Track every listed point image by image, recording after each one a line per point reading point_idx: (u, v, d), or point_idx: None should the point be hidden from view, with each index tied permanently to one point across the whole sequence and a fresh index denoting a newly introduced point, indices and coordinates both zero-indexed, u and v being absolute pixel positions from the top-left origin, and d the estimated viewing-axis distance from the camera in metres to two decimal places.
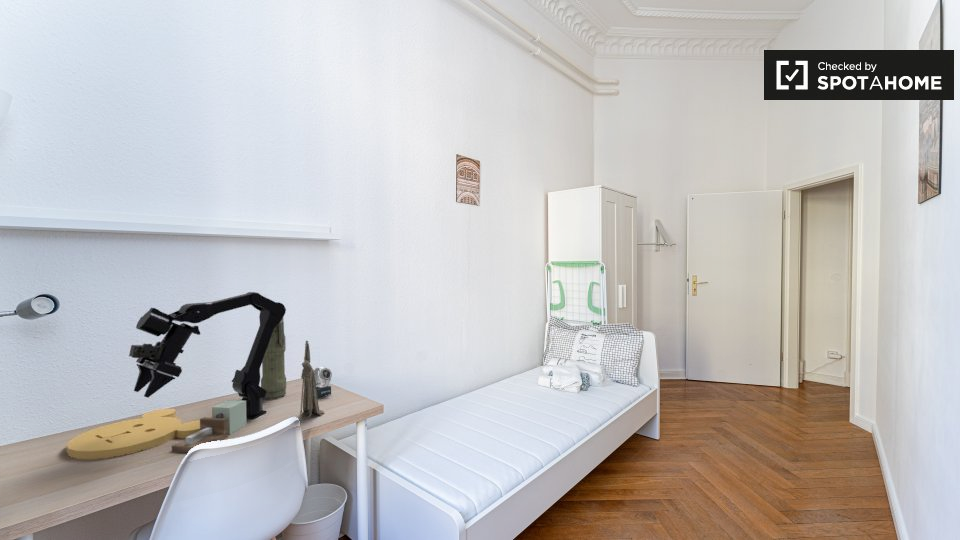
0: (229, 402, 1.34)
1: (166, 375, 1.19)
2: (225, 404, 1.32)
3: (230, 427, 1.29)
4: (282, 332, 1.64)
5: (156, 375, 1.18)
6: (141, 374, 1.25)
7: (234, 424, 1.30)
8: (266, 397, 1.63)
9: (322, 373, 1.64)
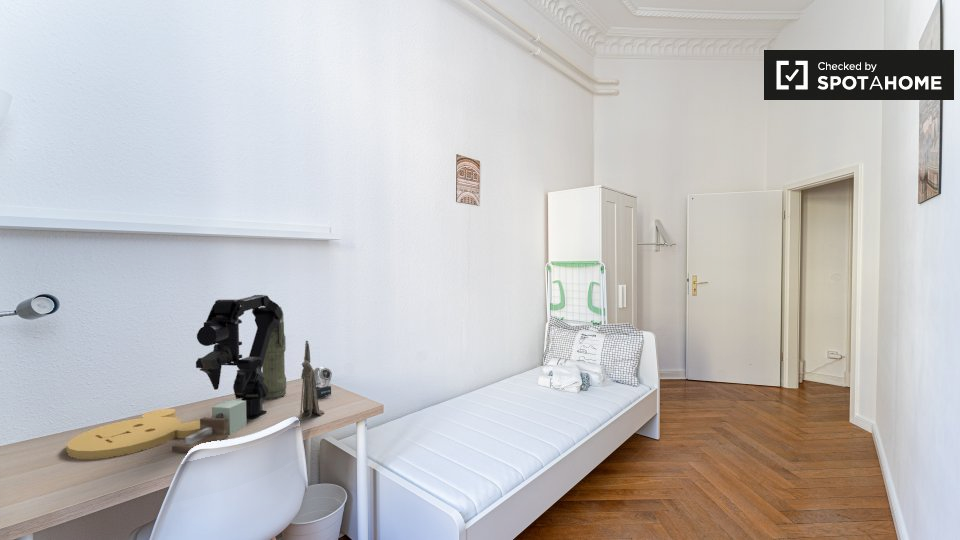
0: (229, 402, 1.34)
1: (252, 368, 1.31)
2: (225, 404, 1.32)
3: (230, 427, 1.29)
4: (282, 332, 1.64)
5: (244, 372, 1.30)
6: (212, 375, 1.32)
7: (234, 424, 1.30)
8: (266, 397, 1.63)
9: (322, 373, 1.64)
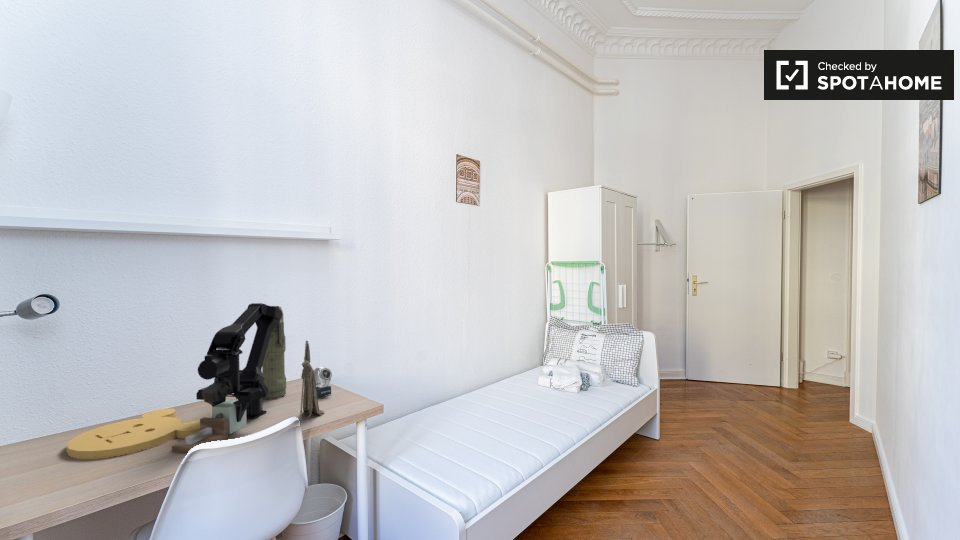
0: (229, 402, 1.34)
1: None
2: (225, 404, 1.32)
3: (230, 427, 1.29)
4: (282, 332, 1.64)
5: (241, 404, 1.30)
6: None
7: (234, 424, 1.30)
8: (266, 397, 1.63)
9: (322, 373, 1.64)
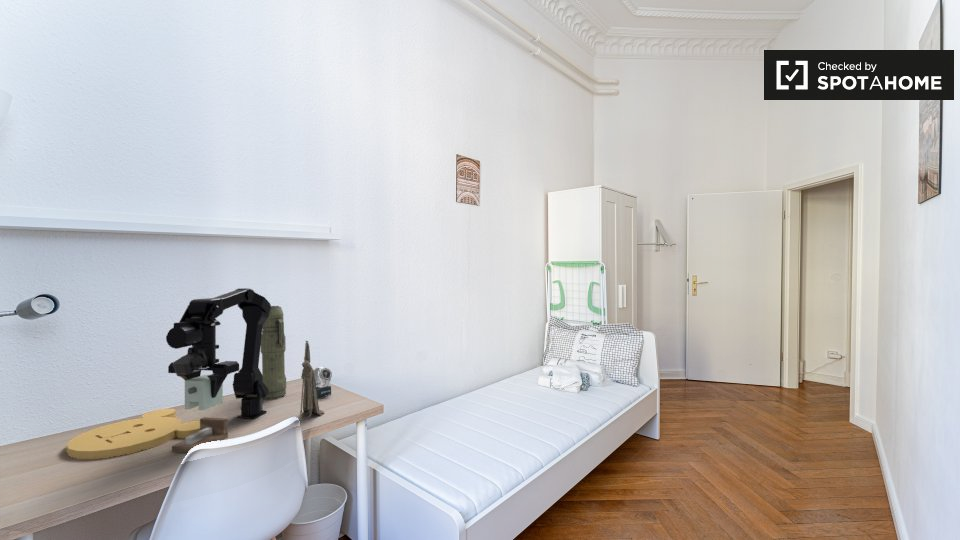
0: (204, 376, 1.24)
1: None
2: (199, 378, 1.22)
3: (203, 402, 1.19)
4: (282, 332, 1.64)
5: (216, 377, 1.21)
6: None
7: (208, 399, 1.21)
8: (266, 397, 1.63)
9: (322, 373, 1.64)
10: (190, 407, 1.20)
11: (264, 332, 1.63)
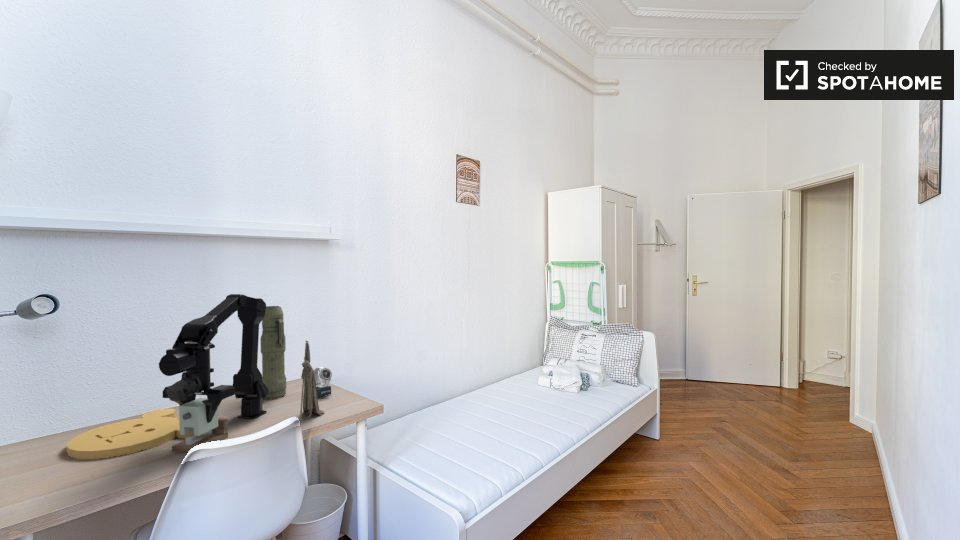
0: (199, 400, 1.22)
1: None
2: (194, 403, 1.21)
3: (198, 428, 1.17)
4: (282, 332, 1.64)
5: (211, 402, 1.19)
6: None
7: (203, 424, 1.19)
8: (266, 397, 1.63)
9: (322, 373, 1.64)
10: (185, 432, 1.18)
11: (264, 332, 1.63)
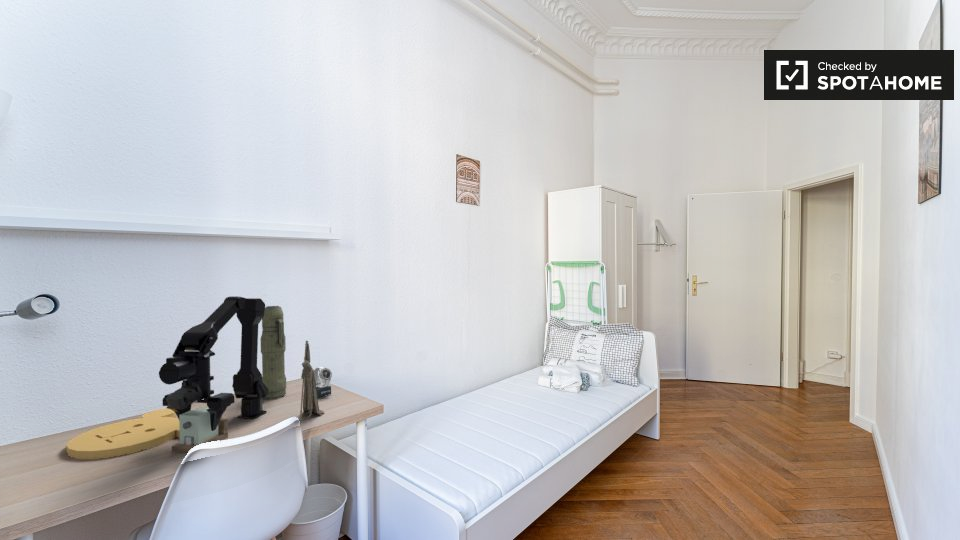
0: (199, 409, 1.22)
1: (224, 406, 1.20)
2: (194, 412, 1.21)
3: (199, 437, 1.17)
4: (282, 332, 1.64)
5: (215, 411, 1.19)
6: (180, 413, 1.21)
7: (204, 433, 1.19)
8: (266, 397, 1.63)
9: (322, 373, 1.64)
10: (185, 442, 1.18)
11: (264, 332, 1.63)
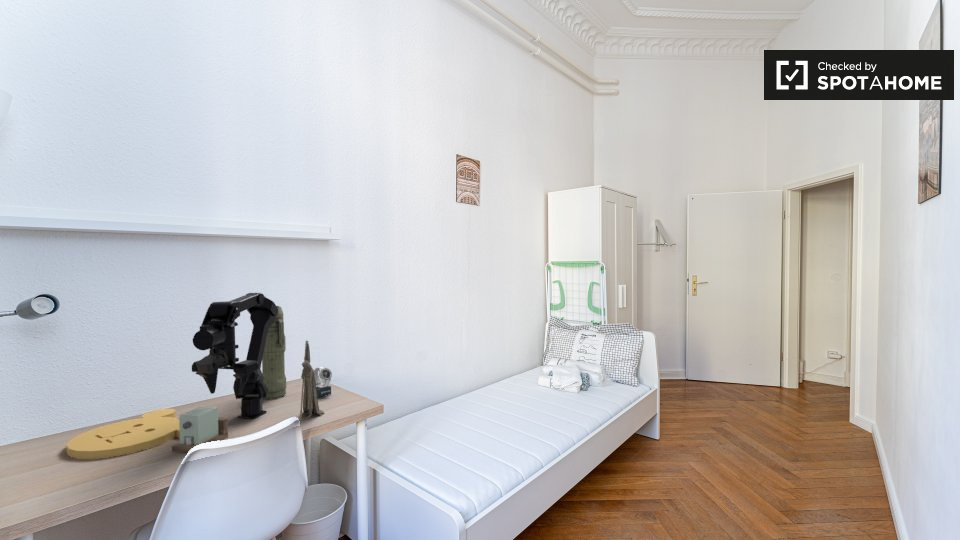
0: (199, 409, 1.22)
1: (249, 372, 1.29)
2: (194, 412, 1.21)
3: (199, 437, 1.17)
4: (282, 332, 1.64)
5: (241, 376, 1.27)
6: (208, 379, 1.30)
7: (204, 433, 1.19)
8: (266, 397, 1.63)
9: (322, 373, 1.64)
10: (185, 442, 1.18)
11: None
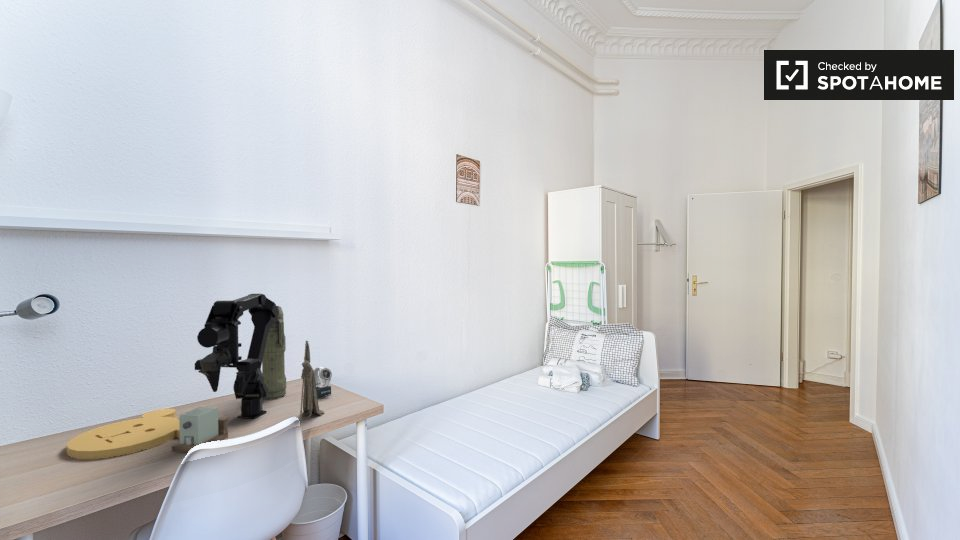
0: (199, 409, 1.22)
1: (252, 370, 1.30)
2: (194, 412, 1.21)
3: (199, 437, 1.17)
4: (282, 332, 1.64)
5: (244, 374, 1.28)
6: (211, 377, 1.30)
7: (204, 433, 1.19)
8: (266, 397, 1.63)
9: (322, 373, 1.64)
10: (185, 442, 1.18)
11: None
